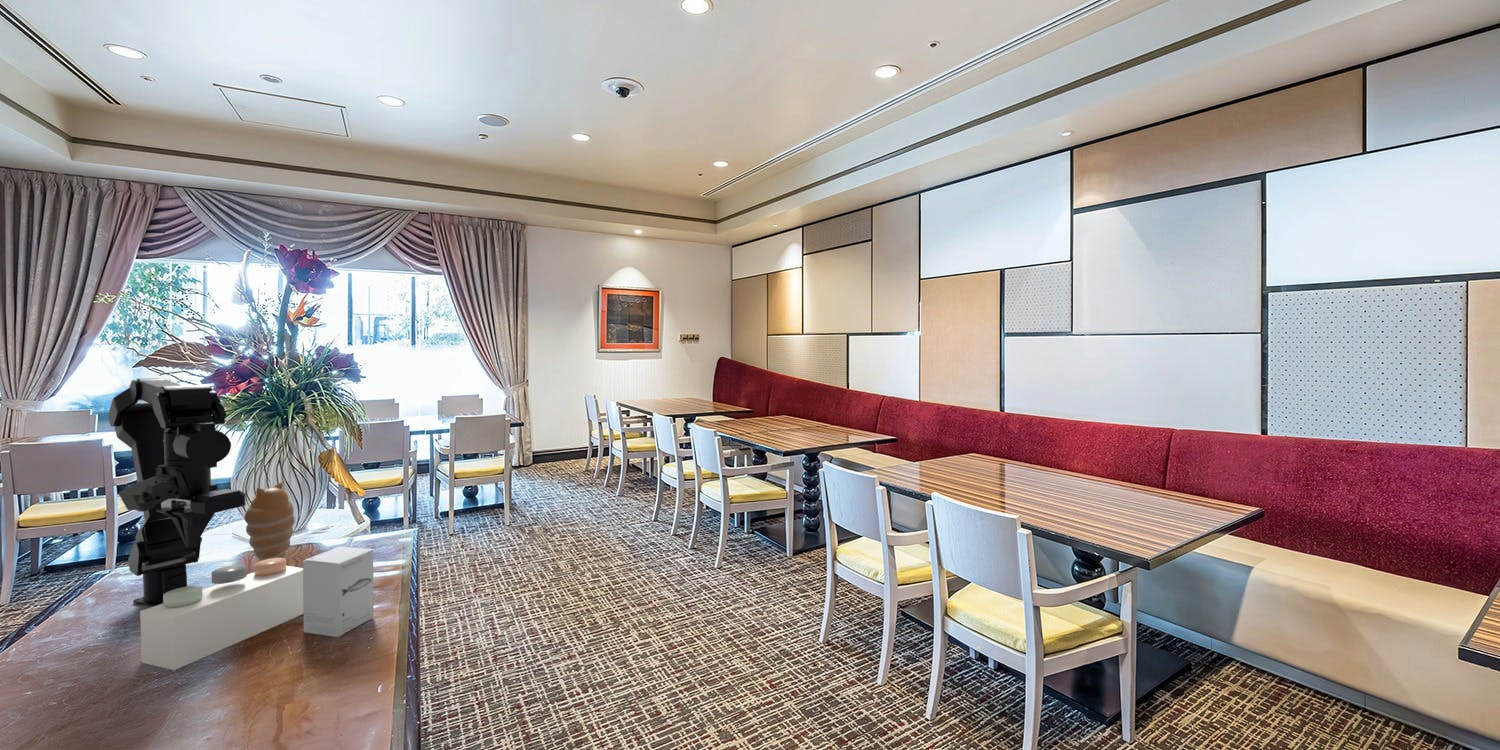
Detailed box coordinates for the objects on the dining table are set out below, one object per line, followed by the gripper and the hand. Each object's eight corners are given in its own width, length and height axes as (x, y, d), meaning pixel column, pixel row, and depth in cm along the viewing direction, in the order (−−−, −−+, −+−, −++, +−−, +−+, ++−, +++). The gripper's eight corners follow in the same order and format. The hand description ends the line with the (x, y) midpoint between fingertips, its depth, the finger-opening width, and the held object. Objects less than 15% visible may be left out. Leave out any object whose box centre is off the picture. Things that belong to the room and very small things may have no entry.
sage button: (156, 604, 91) (155, 595, 91) (189, 593, 95) (189, 584, 95) (176, 608, 90) (175, 599, 90) (209, 597, 94) (209, 587, 94)
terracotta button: (248, 573, 103) (247, 565, 103) (274, 564, 108) (274, 556, 107) (266, 576, 102) (266, 568, 102) (292, 567, 106) (292, 559, 106)
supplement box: (339, 638, 98) (337, 563, 97) (302, 633, 99) (300, 559, 99) (375, 618, 105) (374, 548, 105) (340, 613, 107) (339, 545, 106)
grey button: (204, 581, 97) (204, 572, 97) (234, 572, 101) (234, 563, 101) (224, 585, 96) (223, 576, 96) (253, 575, 100) (253, 566, 100)
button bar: (141, 662, 90) (140, 611, 89) (278, 606, 109) (277, 564, 108) (174, 670, 88) (172, 617, 87) (307, 612, 107) (306, 568, 107)
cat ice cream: (277, 559, 132) (275, 479, 131) (306, 562, 130) (304, 481, 129) (235, 574, 123) (233, 489, 122) (266, 577, 122) (264, 491, 121)
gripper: (89, 462, 97) (93, 555, 98) (168, 471, 92) (172, 569, 93) (171, 450, 107) (174, 535, 108) (246, 458, 102) (249, 546, 103)
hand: (190, 546), depth 103 cm, fingers closed
